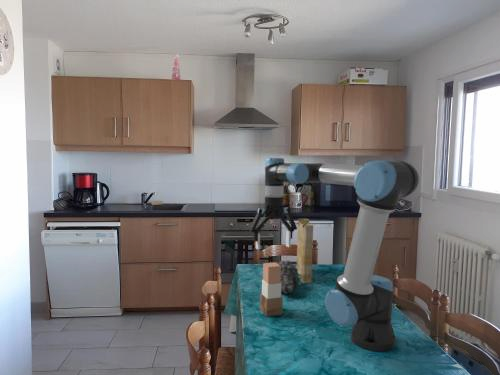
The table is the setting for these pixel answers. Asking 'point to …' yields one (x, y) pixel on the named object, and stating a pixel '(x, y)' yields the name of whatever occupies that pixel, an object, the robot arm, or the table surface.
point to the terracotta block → (271, 273)
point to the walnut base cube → (271, 305)
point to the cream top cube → (271, 290)
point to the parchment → (304, 250)
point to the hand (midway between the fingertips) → (273, 248)
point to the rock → (288, 277)
